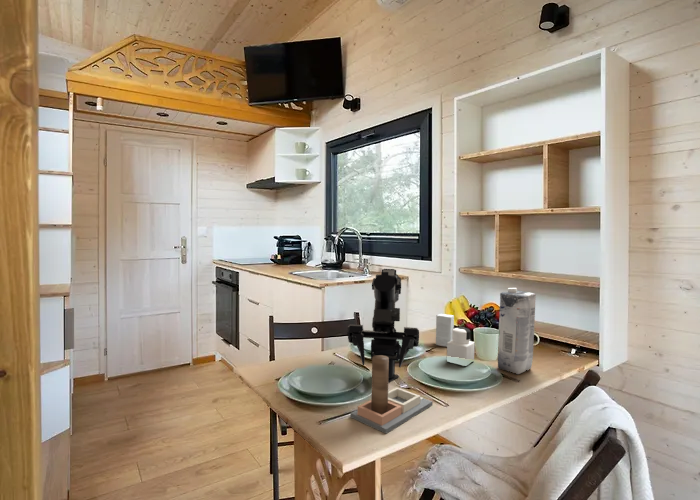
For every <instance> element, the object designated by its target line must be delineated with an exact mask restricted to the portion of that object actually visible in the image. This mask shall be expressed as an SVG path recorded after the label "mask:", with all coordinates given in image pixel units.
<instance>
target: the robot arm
mask: <svg viewBox="0 0 700 500" xmlns="http://www.w3.org/2000/svg"><path fill="white" fill-rule="evenodd" d="M371 290H372V291H373V293H374V309H373V317H372V320H371V321H372V323H371V326H372V330H365V329H364V325H363V324H351V323H350V324H349V325H348V326H347V330H346V331H347V332H346V334H347V340H348V343H350V344H352V345H353V346H354V347H356V348H357V350H358V352H359V356H360V360H361V363H362V364H361V365H363V366H364V365H365V362H366V360H365V357H366V356H365V341H364V339H365V338H366V339H370V360H372V357H373V356H376V355H383V356H387V357H388V358H389V373H388V383H389V382H391V381H395V380H396V379H398V378H399V377H400V376H399V375H398V374H395V370H396V362H398V368H401V367H402V365H403V362H404V360H405V358H406V355H407V354H408V353H409V351H410V350H414V348H417V347H419V342H420V341H419V340H420V330H419V328H418V327H410V326H409V327H407V326H406V327H405V326H404V327H403V331H397V329H396V328H395V322H400V321H401V320H400V319H401V317H400V316H401V308H400V307H396V303H397V302H398V301H399V299H400V298H399V297H400V296H399V295H401V294H402V292H401V291H402V278H401V277H400V276H399V275H398V274H397V269H395V268H383V269H382V268H381V274H377V273H376V275H375V277H373V278H372V283H371ZM400 340H401V344H400Z"/></svg>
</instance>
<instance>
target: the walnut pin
mask: <svg viewBox="0 0 700 500" xmlns="http://www.w3.org/2000/svg"><path fill="white" fill-rule="evenodd" d="M388 373H389V358H388V357H387V356H383V355H376V356H373V357H372V359H371V375H372V378H371V397H370V398H371V399H370V400H371V410H372V411H374V412H376V413H379V414H381V415H382V414H384V413H386V412H388V391H389V382H388Z"/></svg>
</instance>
